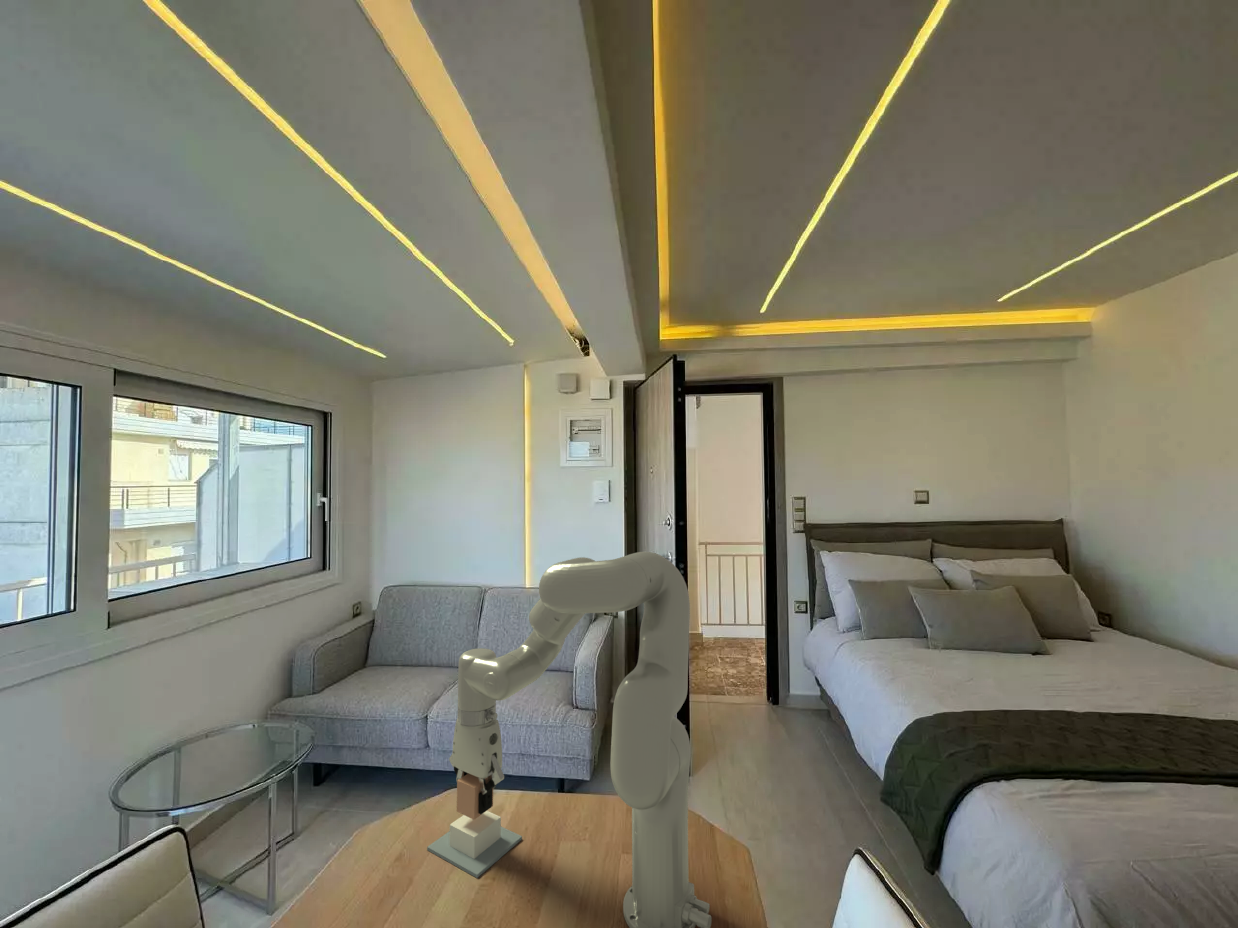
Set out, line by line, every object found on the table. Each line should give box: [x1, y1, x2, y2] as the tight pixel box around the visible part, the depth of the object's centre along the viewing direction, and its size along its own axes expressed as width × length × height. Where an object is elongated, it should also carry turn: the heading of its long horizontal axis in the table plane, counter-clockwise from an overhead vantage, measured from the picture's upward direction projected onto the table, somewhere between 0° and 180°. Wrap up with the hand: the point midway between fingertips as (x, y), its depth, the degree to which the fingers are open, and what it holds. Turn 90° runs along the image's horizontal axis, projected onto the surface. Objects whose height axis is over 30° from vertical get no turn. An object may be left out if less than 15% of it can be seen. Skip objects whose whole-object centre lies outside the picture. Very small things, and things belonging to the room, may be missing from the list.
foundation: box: [426, 810, 523, 879], centre depth 100 cm, size 14×12×5 cm
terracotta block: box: [456, 773, 494, 820], centre depth 101 cm, size 5×5×6 cm
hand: (475, 804), depth 101 cm, fingers closed on terracotta block, 5 cm apart
